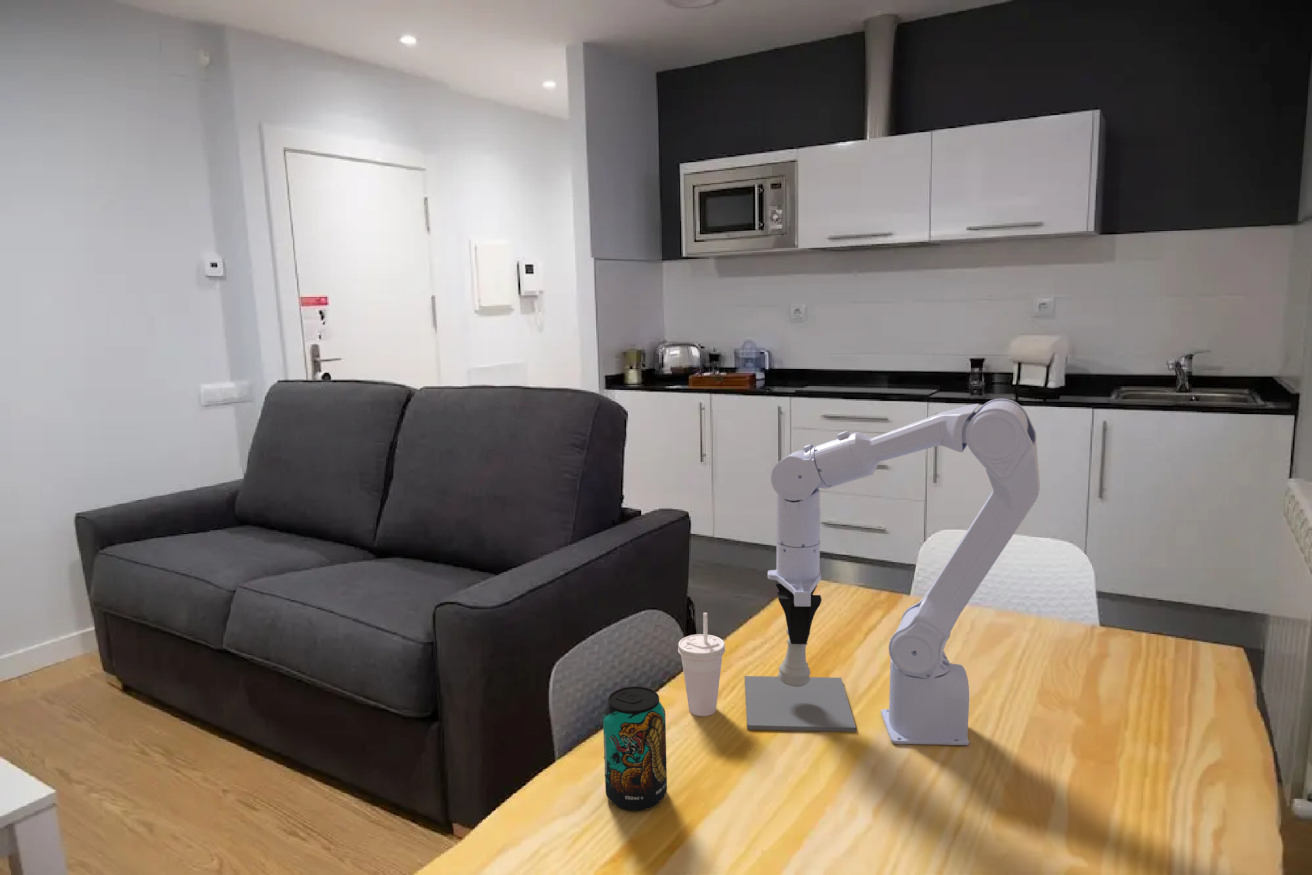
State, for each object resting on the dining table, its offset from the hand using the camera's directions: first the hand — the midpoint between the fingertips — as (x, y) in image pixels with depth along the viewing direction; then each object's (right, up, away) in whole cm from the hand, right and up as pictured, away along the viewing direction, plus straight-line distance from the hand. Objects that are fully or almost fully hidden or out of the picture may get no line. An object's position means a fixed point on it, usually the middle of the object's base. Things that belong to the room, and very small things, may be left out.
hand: (797, 637), depth 113 cm
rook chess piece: (0, -6, +1) cm, 7 cm away
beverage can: (-22, -14, -18) cm, 31 cm away
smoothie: (-13, -10, +1) cm, 17 cm away
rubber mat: (0, -10, +2) cm, 10 cm away
